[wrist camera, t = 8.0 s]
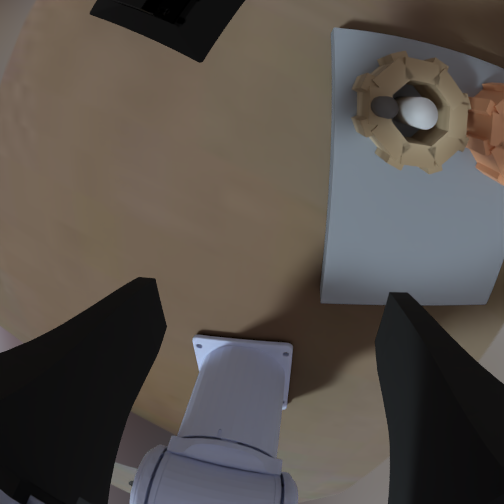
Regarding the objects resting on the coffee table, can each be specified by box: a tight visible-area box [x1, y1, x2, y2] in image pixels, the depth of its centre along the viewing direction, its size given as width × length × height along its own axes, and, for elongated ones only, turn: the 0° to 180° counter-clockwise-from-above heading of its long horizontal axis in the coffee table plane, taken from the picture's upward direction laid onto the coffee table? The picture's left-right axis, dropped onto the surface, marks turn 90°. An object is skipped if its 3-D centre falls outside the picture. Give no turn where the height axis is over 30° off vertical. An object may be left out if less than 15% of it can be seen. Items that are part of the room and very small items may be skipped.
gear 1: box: [351, 51, 471, 174], centre depth 11 cm, size 6×6×4 cm
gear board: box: [320, 28, 504, 305], centre depth 14 cm, size 16×13×4 cm
